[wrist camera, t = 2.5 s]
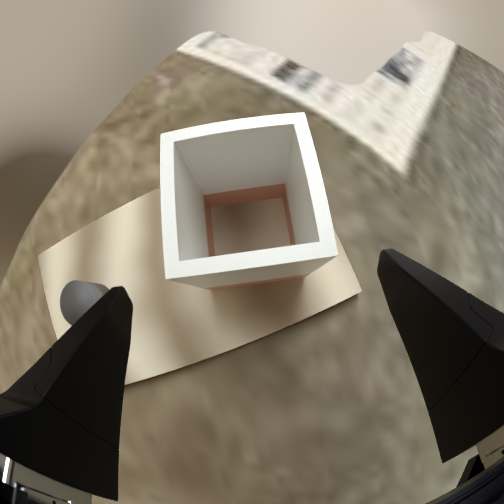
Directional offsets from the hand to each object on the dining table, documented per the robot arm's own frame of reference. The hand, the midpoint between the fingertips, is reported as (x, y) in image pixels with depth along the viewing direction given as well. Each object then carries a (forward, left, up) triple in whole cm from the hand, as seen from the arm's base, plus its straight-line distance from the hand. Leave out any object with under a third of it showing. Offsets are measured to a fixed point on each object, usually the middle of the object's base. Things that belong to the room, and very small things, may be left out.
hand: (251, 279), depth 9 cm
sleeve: (+2, -3, -10) cm, 10 cm away
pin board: (+6, +1, -11) cm, 13 cm away
